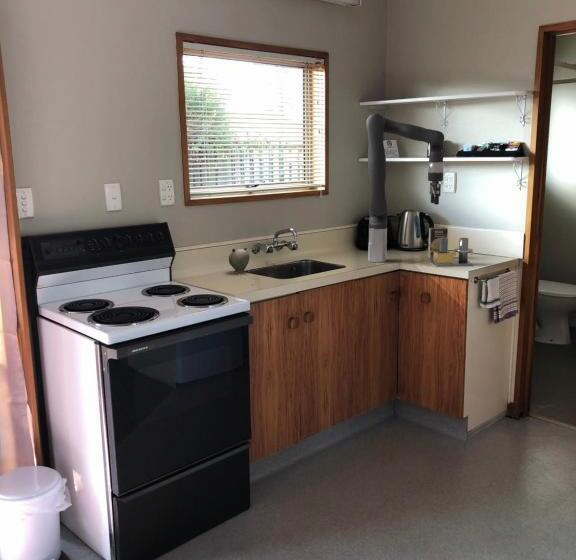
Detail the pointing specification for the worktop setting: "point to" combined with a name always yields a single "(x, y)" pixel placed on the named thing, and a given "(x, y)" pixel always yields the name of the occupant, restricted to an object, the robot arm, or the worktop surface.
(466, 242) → the rosette stand
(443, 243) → the grey square beam
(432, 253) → the coffee box
